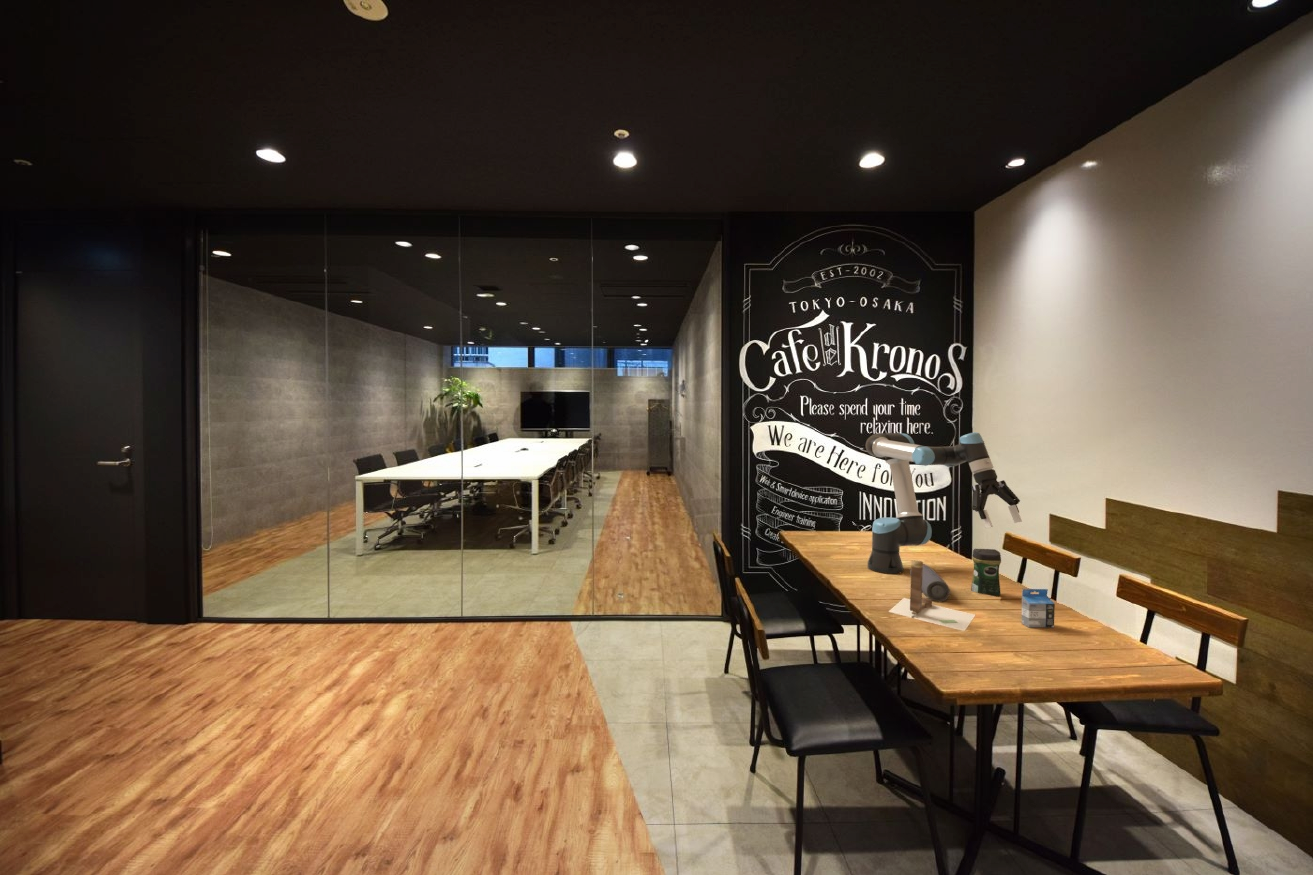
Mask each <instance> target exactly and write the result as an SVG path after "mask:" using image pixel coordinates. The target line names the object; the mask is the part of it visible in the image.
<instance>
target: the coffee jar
mask: <svg viewBox="0 0 1313 875" xmlns="http://www.w3.org/2000/svg"><path fill="white" fill-rule="evenodd" d="M971 559H972V561H973V574H972V580H971V588H970V590H971V592H972V593H973V592H974V593H977V594H981V595H987V596H988V595H989V596H992V597H993V596H994V597H997V598H1000V597H1001V584H1000V583H1001V582H1000V565H1001V563H1002V555H1001V552H1000V551H998V550H997V549H993V548H992V549H991V548H973V550H972V555H971Z"/></svg>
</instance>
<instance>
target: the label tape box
mask: <svg viewBox="0 0 1313 875" xmlns="http://www.w3.org/2000/svg"><path fill="white" fill-rule="evenodd" d="M1048 591H1049V589H1048V588H1022V591H1021V592H1022V593H1021V594H1022V595H1021V621H1020V622H1021V624H1022V625H1024V626H1025V627H1027V628H1055V607H1056V604H1055V602H1053V600H1051V598H1050V597H1049V596H1048Z"/></svg>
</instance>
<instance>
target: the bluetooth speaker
mask: <svg viewBox="0 0 1313 875" xmlns="http://www.w3.org/2000/svg"><path fill="white" fill-rule="evenodd" d="M909 574H910V576H911V569H910V570H909ZM922 594H924V595H925V596H926V598H929V599H931V600H932V602H945V601H946V600H947V599H948V598H949V597H950V595H951V589H950V587H949V585H948V584H947V582H946V581H945V580H944V579H943V578H942V577H941V576H940V575H939V574H938V573H937V572H936V571H935V570H934V569H932V568H931V567H930V566H929V565H927V564H925V563H923V578H922Z"/></svg>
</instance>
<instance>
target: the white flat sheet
mask: <svg viewBox="0 0 1313 875" xmlns="http://www.w3.org/2000/svg"><path fill="white" fill-rule="evenodd" d="M912 612H913V611H910V598H905V597H903V598H902V599H901V600H900V601H899V602H897V603H896V604H895V605H894V606H893V607H892V608H891V609H889V610H888V613H891V614H895V615H900V616H903V617H907V618H911V619H916V620H919V621H922V622H927V623H931V624H935V625H939V626H942V627H946V628H948V629H949V628H950V629H954V630H958V631H962V632H965V631H966V630H967V628H968V627H969V625H970V624H971V623H972V621H973V619H974V618H975V617H976V614H975V613H969V612H965V611H961V610H957V609H953V608H947V607H945V606H940V605H937V604H932V607H929V608H926V607H924V608H923V609H922V610H921V611H920V612H919V613H916V614H915V615H913V614H912Z"/></svg>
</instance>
